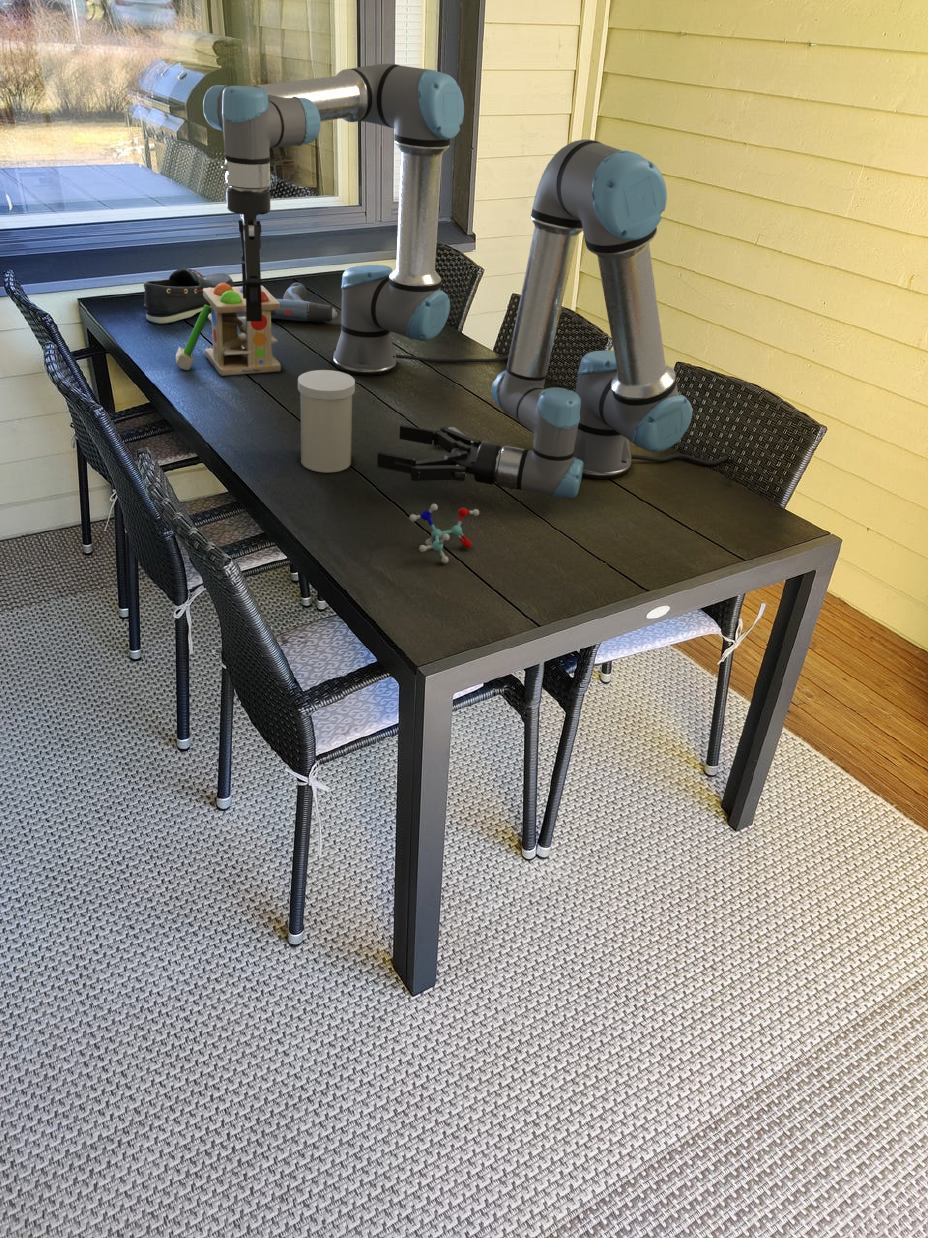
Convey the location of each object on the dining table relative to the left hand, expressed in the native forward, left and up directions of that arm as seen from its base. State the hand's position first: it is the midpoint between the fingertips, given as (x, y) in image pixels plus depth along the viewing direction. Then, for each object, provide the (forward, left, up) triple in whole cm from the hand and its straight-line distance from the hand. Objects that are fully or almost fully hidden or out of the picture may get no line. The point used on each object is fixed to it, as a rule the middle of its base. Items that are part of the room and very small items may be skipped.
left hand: (252, 309), depth 183 cm
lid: (-6, +15, -10) cm, 19 cm away
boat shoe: (-32, -80, -27) cm, 90 cm away
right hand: (-12, +27, -20) cm, 36 cm away
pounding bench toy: (-17, -39, -27) cm, 50 cm away
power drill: (-56, -63, -27) cm, 88 cm away
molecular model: (-2, +54, -27) cm, 60 cm away
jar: (-6, +15, -27) cm, 31 cm away
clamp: (-33, +27, -27) cm, 50 cm away
